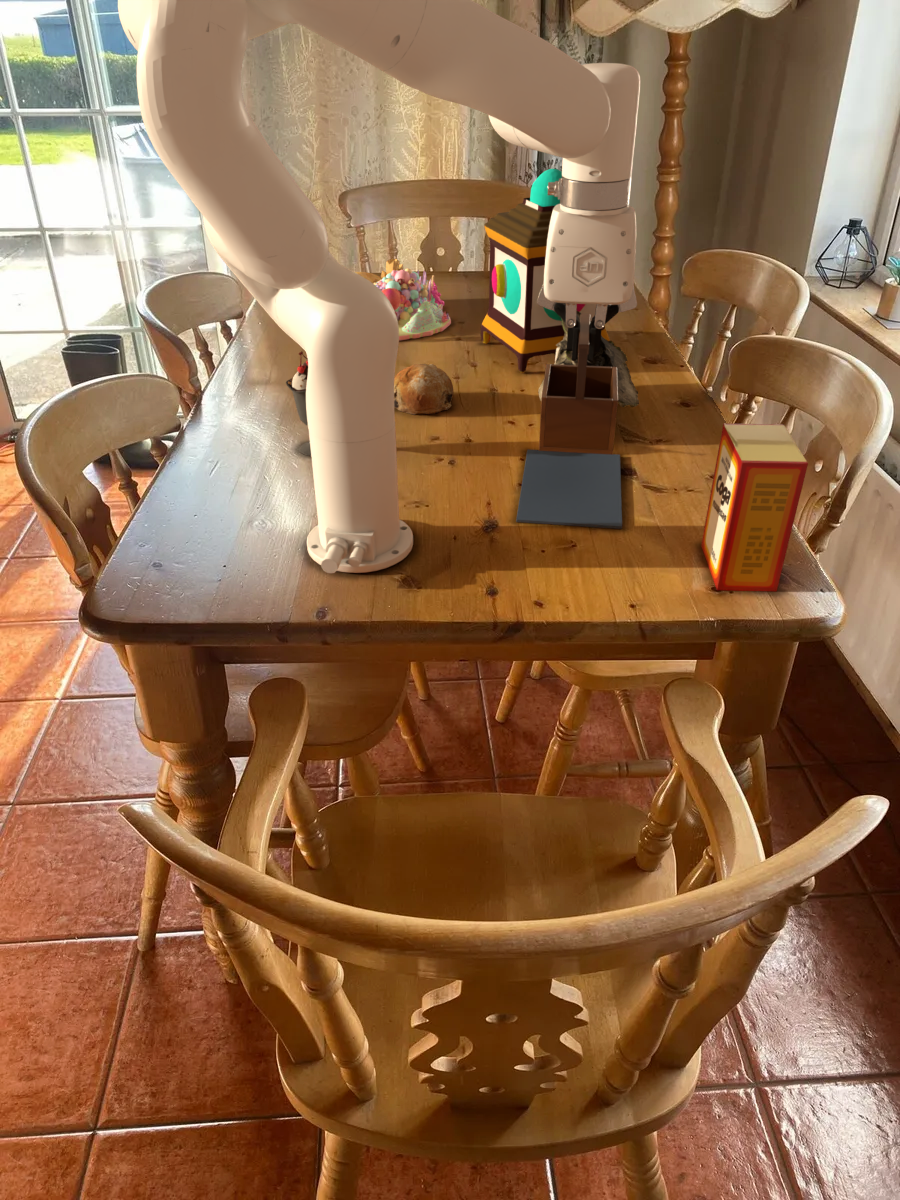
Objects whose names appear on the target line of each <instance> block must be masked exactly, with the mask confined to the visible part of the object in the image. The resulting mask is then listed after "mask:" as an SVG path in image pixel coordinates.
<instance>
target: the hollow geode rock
mask: <svg viewBox="0 0 900 1200" xmlns="http://www.w3.org/2000/svg"><path fill="white" fill-rule="evenodd" d="M580 315H581V313H580V312H579V311H577V316H578V317H579V322H580ZM561 323H562V326H563V329H564V332H565V333H564V335H565V336H564V337H563V340H562V341H560V342H559V343H558V344H557V345H556V346H557V348H556V353H555V356H554V357H555V358H554V364H558V365H578V360H576V361H572V351H566V350H567V335H568V327H567V325H566V323H565V322H564V321H563V320H562V322H561ZM590 323H592V321H590ZM627 362H628V357H627V355H626V353H624V351H623V350H622V349H621V347H620V346H616V345H615V343H614V341H612V340H610V341H609V342H608V340H606V339H605V338H603V337H602V335H601V342H600V352H594V356H593V362H591V361H589V360H587V366H606V367H617V382H618V405H619V406H620V408H624V409H625V408H626V406H627V407H628V406H629V408H635V407H637V406H639V405H640V400H639V398H638V397H639V391H638V389H636V386H635V384H634V382H633V381H632V375H631V371H630V369H629V367H628V365H627ZM543 384H544V378H543V379H542V381H541V384H540V385H539V387H538V391H537V393H538V397H539V401H541V398H542V391H543Z"/></svg>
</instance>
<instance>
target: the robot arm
mask: <svg viewBox="0 0 900 1200" xmlns="http://www.w3.org/2000/svg"><path fill="white" fill-rule="evenodd" d="M117 10H118V17H119V21H120V24H121V26H122V30H123V32H124V34H125V36H126V38H127V39H128V41H129V42H130V44H131V45H132V46H133V48H134V49H135V50H136V51H137V57H136V87H137V89H136V90H137V98H138V104H139V110H140V114H141V118H142V122H143V126H144V128H145V131H146V134H147V137H148V139H149V140H150V142H151V145H152V147H153V149H154V150H155V152H156V154H157V156H158V157H159V159H160V160H161V161H162V164H164V166H165V167H166V169H167V170H168V171H169V173H170V174H171V175H172V177H173V179H174V180H175V182H176V183H178V185H179V186H180V188H181V189H182V190H183V192H184V193H185V194H186V195H187V196H188V198H189V200H190V201H191V203H192V204H193V205H194V206H195V208H196V209H197V210H198V212H200V214H201V215H202V217H203V218H202V219H203V226H204V230H205V234H206V236H207V238H208V241H209V243H210V245H211V246H212V248H213V249H214V251H215V252H216V254H217V255H218V256H219V258H220V259H221V260H222V261H223V262H224V264H225V265H226V266H227V267H228V268H229V270H230V271H231V272H232V273H233V274H234V275H235V277H236V278H237V279H238V280H239V282H240V283H241V284H242V285H243V287H244V288H245V289H246V290H247V291H248V292H249V294H251V296H252V297H253V298H254V299H255V300H256V302H257V303H258V304H259V305H260V307H262V309H263V310H264V311H265V312H266V313H267V315H268V316H269V317H270V318H271V319H272V321H274V322H275V324H276V325H277V326H278V327H279V328H280V329H281V330H282V331H283V332H284V333H285V334H286V335H287V336H288V337H289V338H290V339H292V340H293V341H294V342H295V343H296V344H298V345H299V347H300V348H302V349H303V350H304V351H305V353H306V358H307V359H308V377H307V386H306V411H307V422H308V426H307V429H308V436H309V442H310V447H311V456H310V457H311V466H312V476H313V487H314V495H315V505H316V506H315V507H316V515H317V524H316V525H315V526H314V527H313V528H312V529H311V530H310V531H309V533H308V535H307V537H306V549H307V552H308V555H309V557H310V558H311V559H312V560H313V561H314V562H316V563H317V564H318V565H320V568H321V569H322V570H323V572H325V573H326V574H335V573H336V572H341V573H346V574H347V573H349V574H350V573H351V574H361V573H362V574H363V573H372V572H377V571H382V570H384V569H385V570H386V569H387V568H390V567H393V566H394V565H397V564H399V563H400V562H401V561H403V560H404V559H405V558H407V556H408V555H410V553H411V552H412V550H413V545H414V535H413V530H412V529H411V527H410V526H409V525H408V524H407V522H405V521H403V520H402V519H400V503H399V481H398V456H397V433H396V432H397V431H396V430H397V429H396V416H395V414H396V413H395V407H394V377H395V376H396V364H397V359H398V350H399V345H400V344H399V343H400V340H399V327H398V321H397V317H396V314H395V311H394V309H393V307H392V305H391V303H390V301H389V300H388V298H387V297H386V296H385V294H384V293H383V292H382V291H381V290H380V289H379V288H378V287H377V286H375V285H374V284H373V283H372V282H370V281H369V280H367V279H365V278H364V277H362V276H360V275H359V274H357V273H355V272H356V271H354V270H352V269H350V268H348V267H346V266H345V265H343V264H341V263H340V262H339V261H338V260H337V259H336V258H335V257H334V255H333V253H331V251H329V248H330V246H329V245H330V244H329V236H328V231H327V227H326V225H325V222H324V220H323V218H322V215H321V214H320V212H319V211H318V209H317V206H315V204H314V203H313V202H312V200H311V199H310V198H309V197H308V196H307V194H306V193H305V192H304V190H303V189H302V188H301V187H300V186H299V184H298V183H297V182H296V180H295V179H294V178H293V176H292V175H291V174H290V172H289V171H288V169H287V168H286V167H285V166H284V164H283V162H282V161H281V160H280V159H279V157H278V156H277V154H276V153H275V151H273V149H272V148H271V146H270V145H269V143H268V142H267V140H266V138H265V137H264V135H263V134H262V132H261V131H260V129H259V127H258V126H257V124H256V123H255V121H254V120H253V118H252V116H251V114H250V112H249V110H248V108H247V105H246V103H245V99H244V95H243V89H242V71H243V70H242V69H243V64H244V63H243V62H244V59H245V54H246V50H247V46H248V42H249V41H251V40H253V39H256V38H259V37H260V36H263V35H265V34H268V33H270V32H272V31H274V30H277V29H279V28H281V27H284V26H286V25H289V24H292V25H299V26H301V27H304V28H305V29H308V30H310V31H311V32H313V33H315V34H317V35H319V36H320V37H322V38H324V40H327V41H329V42H331V43H332V44H335V45H336V46H338V47H339V48H341V49H343V50H345V51H347V52H348V53H350V54H352V55H354V56H355V57H357V58H359V59H361V60H363V61H364V62H366V63H367V64H370V65H371V66H373V67H375V68H377V69H378V70H380V71H382V72H383V73H385V74H387V75H388V76H390V77H392V78H394V79H395V80H397V81H399V82H400V83H402V84H404V85H406V86H407V87H409V88H412V89H414V90H417V91H418V92H422V93H424V94H426V95H428V96H431V97H434V98H437V99H439V100H443V101H447V102H450V103H454V104H458V105H461V106H464V107H468V108H469V109H473V110H476V111H478V112H481V113H483V114H485V115H488V119H489V122H490V124H491V126H492V128H493V130H494V131H495V132H496V133H497V135H498V136H500V138H502V139H503V140H504V141H506V142H507V143H509V144H511V145H514V146H517V147H521V148H525V149H528V150H531V151H537V152H540V153H544V154H547V155H552V156H555V157H558V158H562V163H561V166H562V167H561V172H562V179H560V178H559V181H555V182H548V195H554V197H558V199H560V204H558V205H556V206H555V207H554V208H553V212H552V216H551V220H550V225H549V231H548V238H547V247H546V257H545V268H544V283H543V285H542V288H541V290H540V293H539V296H538V299H537V304H538V305H539V306H542V307H545V308H547V309H550V310H553V311H555V312H556V313H557V314H558V315H559V316H560V318H561V319H562V320H563V321H564V322H565V323H566V325H567V327H568V335H567V350H566V351H572V361H576V360H578V344H579V333H580V322H579V317H578V316H577V304H596V310H595V316H594V317H593V318H592V323H590V330H589V333H590V336H589V353H588V355H587V360H589V361H591V362H593V356H594V352H600V342H601V330H602V328H603V327H604V325H605V326H606V324H607V323H608V322H609V321H611V320H612V319H614V317H615V316H616V315H617V314H620V313H624V312H627V311H631V310H635V309H636V308H637V306H638V300H637V296H636V291H635V287H634V285H635V284H634V282H635V271H636V257H637V216H636V210H635V208H634V206H632V205H630V197H631V187H632V175H633V165H634V156H635V146H636V136H637V135H636V134H637V125H638V124H637V122H638V113H639V103H640V94H641V76H640V72H639V71H638V69H636V67H634V66H632V65H630V64H624V63H619V62H593V63H584V64H581V63H580V62H579V61H577V60H575V58H573V57H571V56H570V55H568V53H565V52H564V51H563V50H561V49H560V48H558V47H557V46H555V45H554V44H552V43H550V42H549V41H547V40H545V39H544V38H543V37H540V36H539V35H536V34H535V33H533V32H532V31H529V30H527V29H526V28H524V27H522V26H520V25H518V24H516V23H514V22H512V21H511V20H508V19H506V18H504V17H503V16H500V15H499V14H497V13H495V12H493V11H491V10H490V9H488V8H486V7H485V6H483V5H481V4H480V3H478V2H476V1H474V0H117Z"/></svg>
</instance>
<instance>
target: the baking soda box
mask: <svg viewBox="0 0 900 1200" xmlns="http://www.w3.org/2000/svg"><path fill="white" fill-rule="evenodd" d="M808 465H809V462H808V461H807V459H806V458H805V456H804V455H803V453H802V451H801V450H800V448H799V447H798V445H797V443H796V441H795V440H794V439H793V437H792V435H791V434H790V432H789V431H788V429H787V427H786V425H785V424H784V423H783V424H782V423H781V424H780V423H722V429H721V434H720V440H719V445H718V451H717V456H716V462H715V466H714V467H715V468H714V472H713V478H712V479H713V480H712V482H711V488H710V494H709V499H708V504H707V505H708V506H707V511H706V516H705V522H704V527H703V533H702V537H701V538H702V539H701V544H700V546H701V550H702V552H703V555H704V557H705V560H706V564H707V566H708V569H709V572H710V574H711V577H712V580H713V584H714V586H715V589H716V591H734V592H737V591H738V592H777V591H778V587H779V584H780V579H781V577H782V576H781V575H782V572H783V567H784V563H785V559H786V555H787V552H788V547H789V544H790V539H791V535H792V530H793V526H794V523H795V519H796V514H797V512H798V507H799V502H800V498H801V494H802V490H803V486H804V483H805V478H806V473H807V470H808Z"/></svg>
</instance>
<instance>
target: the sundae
mask: <svg viewBox="0 0 900 1200" xmlns="http://www.w3.org/2000/svg"><path fill="white" fill-rule="evenodd" d="M298 355H299V366H297V368H296V369H297V372H296V373H295V374H294V375H293V377H292V378H289V379H288V380H285V385H286V386H287V388H288V389H289V390H290V391H291V392H292V396H293V399H294V403H295V408H296V411H297V415H298V417H299V420H300V421H301V422H302V423H303V424H304V425H305V426H307V427H308V422H307V411H306V386H307V377H308V358H307V356H305V354H304V352H303V350H301V351H300V352H298ZM302 357H304V359H306V361H305V362H303V363H302ZM298 450H299V452H300V453H301V454H302V455H304V456H307V457H311V447H310V441H307V442H304V443H303V444H301V445H300V446H299V449H298Z"/></svg>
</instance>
